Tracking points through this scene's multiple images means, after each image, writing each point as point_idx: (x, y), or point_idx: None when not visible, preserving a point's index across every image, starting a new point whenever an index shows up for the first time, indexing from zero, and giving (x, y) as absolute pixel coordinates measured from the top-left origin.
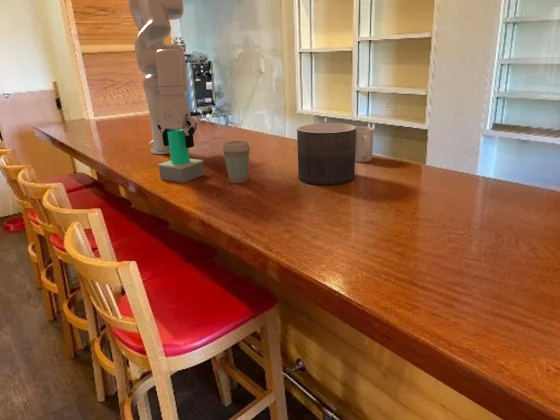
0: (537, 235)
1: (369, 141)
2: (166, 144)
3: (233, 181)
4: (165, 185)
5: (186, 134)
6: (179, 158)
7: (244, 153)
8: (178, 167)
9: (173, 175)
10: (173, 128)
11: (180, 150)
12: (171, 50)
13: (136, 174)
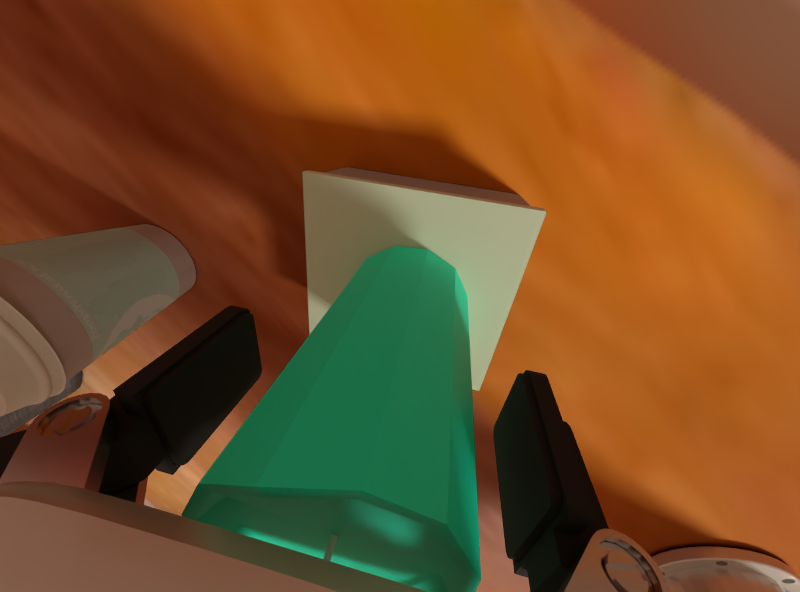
0: None
1: None
2: (517, 389)
3: (142, 225)
4: (412, 77)
5: (99, 412)
6: (365, 270)
7: None
8: (332, 175)
9: (407, 182)
10: (153, 539)
11: (331, 306)
12: None
13: (753, 253)
